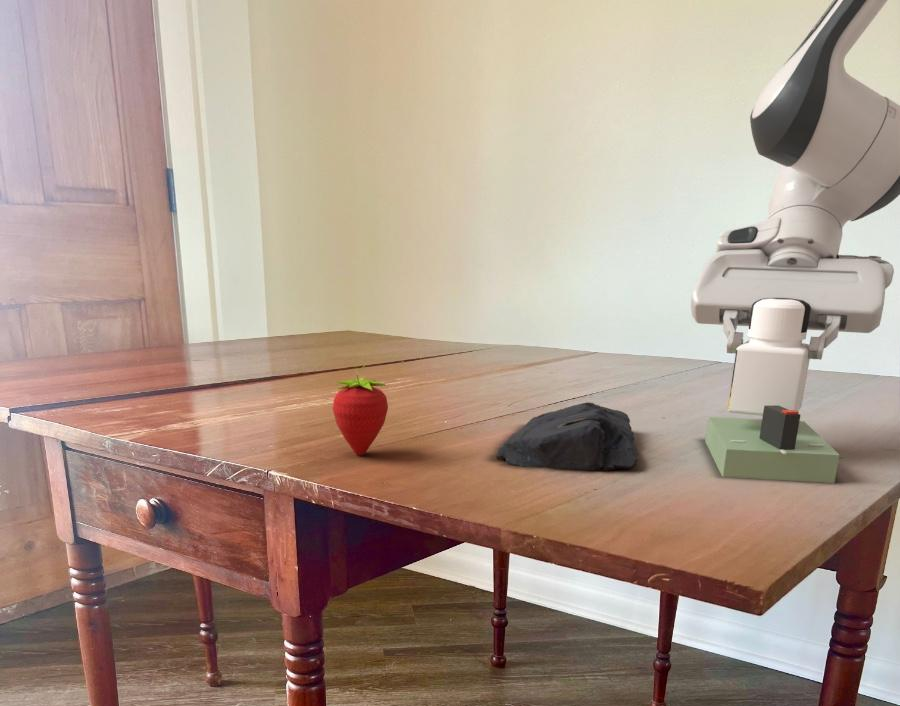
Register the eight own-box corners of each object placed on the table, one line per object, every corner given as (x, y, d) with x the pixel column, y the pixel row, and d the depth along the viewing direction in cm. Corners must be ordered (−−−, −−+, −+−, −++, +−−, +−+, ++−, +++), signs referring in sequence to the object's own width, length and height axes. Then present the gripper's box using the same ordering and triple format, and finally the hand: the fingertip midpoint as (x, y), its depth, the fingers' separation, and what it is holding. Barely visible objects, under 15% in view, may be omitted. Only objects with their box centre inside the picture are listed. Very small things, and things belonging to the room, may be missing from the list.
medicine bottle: (737, 402, 102) (753, 295, 97) (801, 408, 99) (820, 298, 95) (726, 412, 96) (743, 299, 92) (794, 419, 93) (814, 302, 89)
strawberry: (393, 449, 99) (392, 358, 95) (382, 465, 92) (380, 368, 88) (342, 447, 99) (339, 357, 95) (327, 463, 92) (323, 367, 88)
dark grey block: (759, 438, 92) (764, 403, 91) (773, 438, 93) (779, 403, 91) (779, 449, 88) (785, 412, 86) (794, 449, 88) (801, 412, 87)
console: (800, 446, 103) (804, 419, 102) (837, 486, 86) (843, 455, 85) (704, 441, 105) (708, 415, 103) (723, 480, 88) (728, 449, 87)
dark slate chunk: (645, 432, 109) (648, 394, 107) (635, 476, 89) (639, 430, 87) (524, 425, 112) (526, 387, 110) (489, 465, 92) (491, 421, 90)
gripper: (891, 278, 98) (872, 378, 94) (707, 272, 106) (681, 364, 101) (901, 235, 92) (881, 340, 88) (705, 232, 100) (678, 327, 96)
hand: (772, 352), depth 95 cm, fingers closed on medicine bottle, 7 cm apart
